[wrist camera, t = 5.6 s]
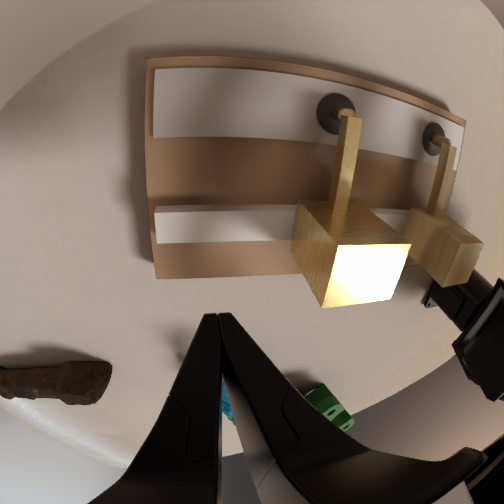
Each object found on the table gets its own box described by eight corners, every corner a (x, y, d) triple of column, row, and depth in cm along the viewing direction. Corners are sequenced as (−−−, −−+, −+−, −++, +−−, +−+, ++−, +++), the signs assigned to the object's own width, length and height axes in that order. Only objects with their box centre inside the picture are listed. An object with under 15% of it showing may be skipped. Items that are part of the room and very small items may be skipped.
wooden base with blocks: (453, 116, 16) (526, 141, 9) (418, 255, 22) (469, 305, 16) (151, 62, 12) (112, 31, 5) (158, 266, 18) (146, 353, 12)
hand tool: (15, 380, 23) (7, 407, 19) (-3, 361, 21) (-14, 389, 17) (125, 375, 24) (121, 414, 20) (106, 352, 22) (99, 393, 18)
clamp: (319, 378, 38) (355, 421, 32) (287, 402, 37) (322, 446, 32) (313, 370, 28) (362, 429, 23) (269, 402, 27) (316, 462, 22)
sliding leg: (369, 114, 13) (439, 130, 9) (344, 245, 18) (390, 299, 13) (305, 101, 12) (363, 107, 8) (287, 246, 17) (321, 308, 12)
